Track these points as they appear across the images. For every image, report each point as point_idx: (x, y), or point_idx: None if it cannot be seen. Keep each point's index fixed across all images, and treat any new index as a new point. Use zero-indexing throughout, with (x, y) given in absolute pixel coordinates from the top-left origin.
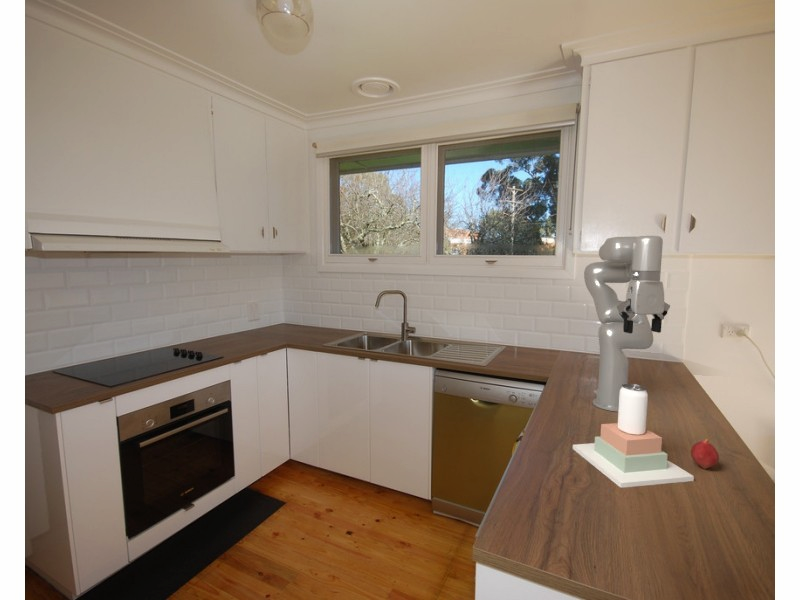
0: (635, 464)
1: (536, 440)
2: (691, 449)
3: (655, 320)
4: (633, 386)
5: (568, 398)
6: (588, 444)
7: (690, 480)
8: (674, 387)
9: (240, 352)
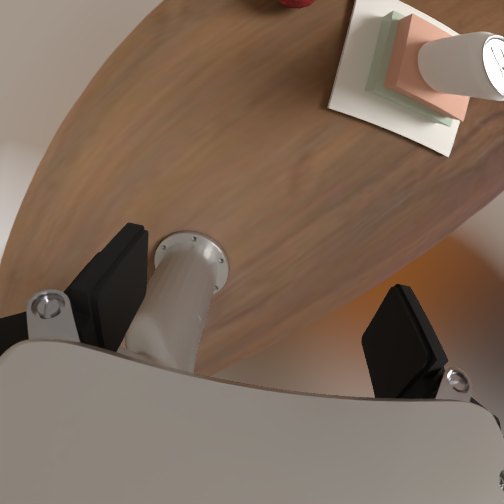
0: None
1: (463, 207)
2: (310, 2)
3: (106, 330)
4: (494, 72)
5: (245, 321)
6: (427, 142)
7: None
8: (24, 277)
9: None
